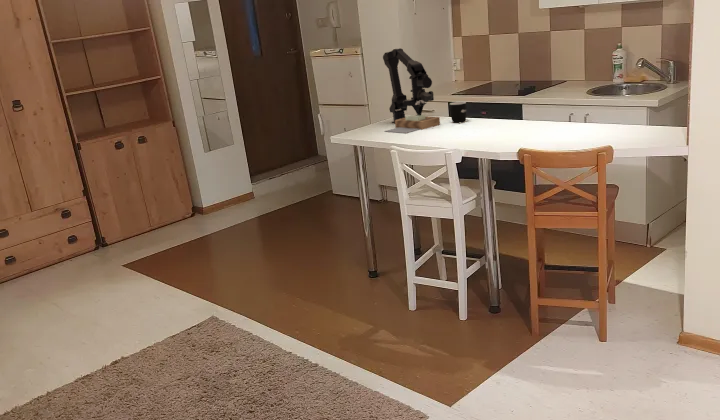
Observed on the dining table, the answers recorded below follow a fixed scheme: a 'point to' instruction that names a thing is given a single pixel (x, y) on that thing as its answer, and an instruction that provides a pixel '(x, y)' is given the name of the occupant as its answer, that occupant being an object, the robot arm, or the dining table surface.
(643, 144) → the dining table surface
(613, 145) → the dining table surface
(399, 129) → the mat
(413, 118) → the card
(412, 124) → the brown wooden flat block
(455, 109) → the mug
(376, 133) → the dining table surface
